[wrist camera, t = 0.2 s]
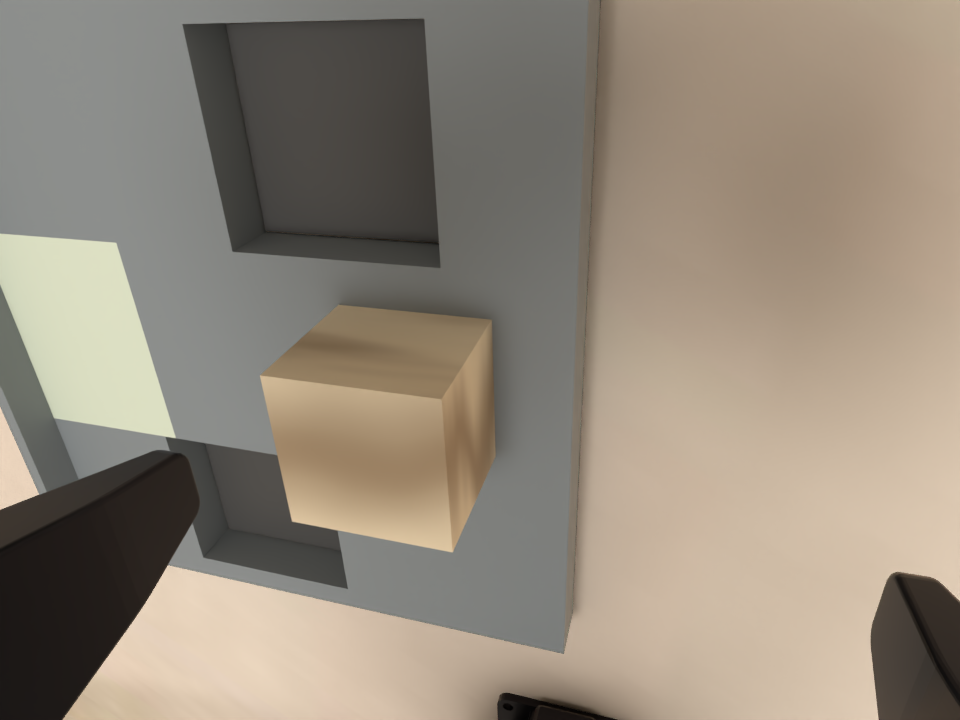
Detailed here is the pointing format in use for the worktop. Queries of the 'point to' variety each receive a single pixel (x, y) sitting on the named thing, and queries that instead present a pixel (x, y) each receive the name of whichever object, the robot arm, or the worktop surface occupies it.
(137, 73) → the board
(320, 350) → the maple block
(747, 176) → the worktop surface
